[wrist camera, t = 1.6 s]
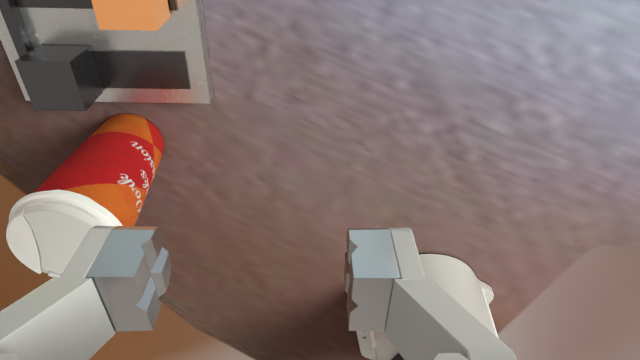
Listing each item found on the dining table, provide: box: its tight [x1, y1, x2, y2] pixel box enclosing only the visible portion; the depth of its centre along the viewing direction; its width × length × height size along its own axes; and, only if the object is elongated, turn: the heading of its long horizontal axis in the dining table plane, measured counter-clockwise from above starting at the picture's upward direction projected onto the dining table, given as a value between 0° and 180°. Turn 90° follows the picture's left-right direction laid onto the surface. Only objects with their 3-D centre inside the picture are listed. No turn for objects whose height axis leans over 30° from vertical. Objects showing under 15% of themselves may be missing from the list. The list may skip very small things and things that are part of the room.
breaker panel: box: [0, 0, 214, 111], centre depth 33 cm, size 13×16×6 cm
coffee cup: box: [6, 113, 164, 278], centre depth 36 cm, size 8×8×15 cm
